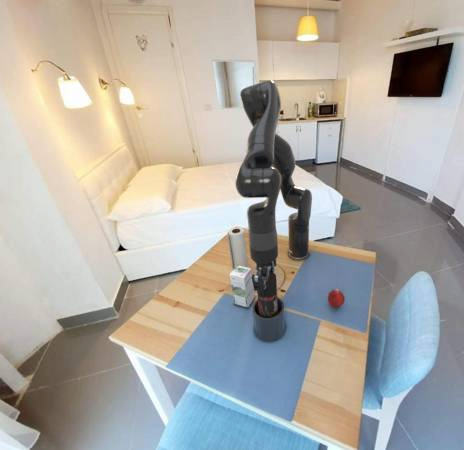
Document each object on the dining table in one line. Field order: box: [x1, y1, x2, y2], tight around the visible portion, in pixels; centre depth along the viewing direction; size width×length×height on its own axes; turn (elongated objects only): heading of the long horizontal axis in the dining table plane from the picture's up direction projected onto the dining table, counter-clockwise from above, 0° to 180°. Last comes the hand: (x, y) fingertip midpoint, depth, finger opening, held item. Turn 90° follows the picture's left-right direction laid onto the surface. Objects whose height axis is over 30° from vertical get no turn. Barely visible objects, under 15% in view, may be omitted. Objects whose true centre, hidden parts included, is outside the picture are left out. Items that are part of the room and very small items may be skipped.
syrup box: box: [229, 265, 255, 308], centre depth 90 cm, size 6×6×14 cm
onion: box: [327, 288, 346, 308], centre depth 88 cm, size 6×6×8 cm
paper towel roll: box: [227, 226, 249, 271], centre depth 102 cm, size 7×6×21 cm
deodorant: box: [256, 271, 278, 318], centre depth 76 cm, size 6×6×15 cm
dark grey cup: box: [251, 296, 286, 342], centre depth 80 cm, size 10×10×10 cm
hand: (266, 288), depth 74 cm, fingers closed on deodorant, 6 cm apart
